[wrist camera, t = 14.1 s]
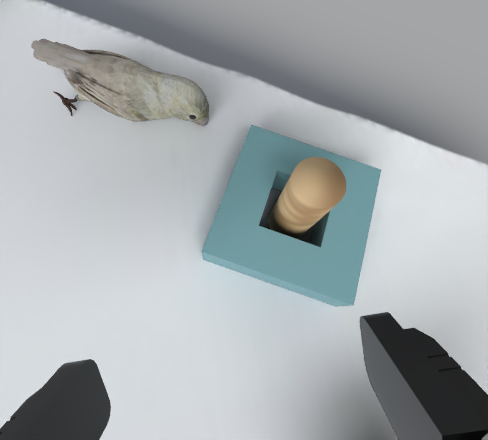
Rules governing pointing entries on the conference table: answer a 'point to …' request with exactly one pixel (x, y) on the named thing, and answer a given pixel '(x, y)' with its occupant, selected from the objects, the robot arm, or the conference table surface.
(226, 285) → the conference table surface
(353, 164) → the socket block
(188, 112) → the decorative bird
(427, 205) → the conference table surface
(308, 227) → the peg
